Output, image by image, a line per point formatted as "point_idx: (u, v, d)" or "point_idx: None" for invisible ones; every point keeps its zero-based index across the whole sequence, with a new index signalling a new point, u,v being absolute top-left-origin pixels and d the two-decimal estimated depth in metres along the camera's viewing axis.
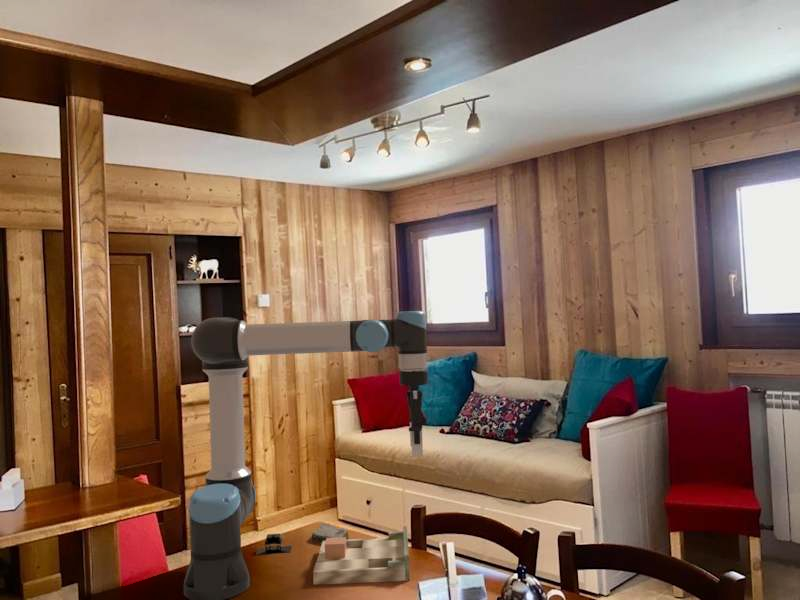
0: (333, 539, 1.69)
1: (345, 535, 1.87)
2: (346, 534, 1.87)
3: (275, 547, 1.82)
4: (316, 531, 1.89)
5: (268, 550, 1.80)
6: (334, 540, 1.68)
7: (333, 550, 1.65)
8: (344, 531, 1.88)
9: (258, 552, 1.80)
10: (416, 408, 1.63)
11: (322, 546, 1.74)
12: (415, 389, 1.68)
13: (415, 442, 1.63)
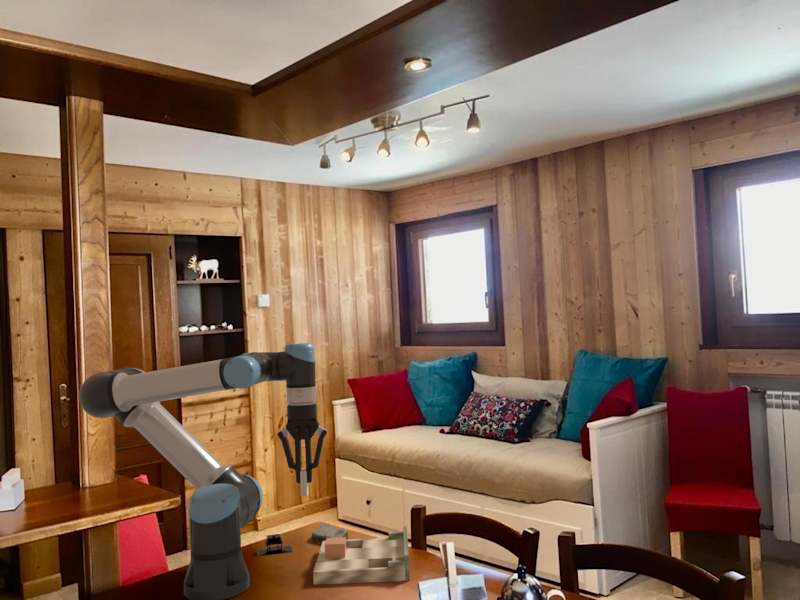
0: (333, 539, 1.69)
1: (345, 535, 1.86)
2: (346, 534, 1.87)
3: (275, 547, 1.81)
4: (316, 531, 1.89)
5: (269, 551, 1.79)
6: (334, 540, 1.68)
7: (333, 550, 1.65)
8: (344, 531, 1.88)
9: (259, 554, 1.78)
10: None
11: (322, 546, 1.74)
12: None
13: None
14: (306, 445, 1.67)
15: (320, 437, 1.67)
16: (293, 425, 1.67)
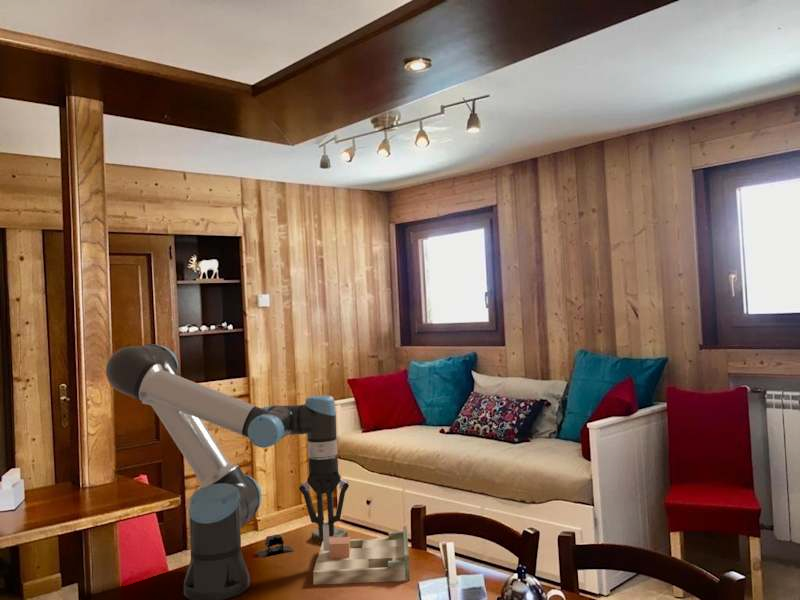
0: (337, 539, 1.69)
1: (344, 535, 1.86)
2: (345, 534, 1.87)
3: (275, 548, 1.81)
4: (316, 531, 1.89)
5: (271, 552, 1.78)
6: (339, 539, 1.68)
7: (337, 549, 1.65)
8: (343, 531, 1.88)
9: (261, 555, 1.77)
10: None
11: (322, 546, 1.74)
12: None
13: None
14: (328, 499, 1.67)
15: (342, 491, 1.67)
16: (315, 479, 1.67)
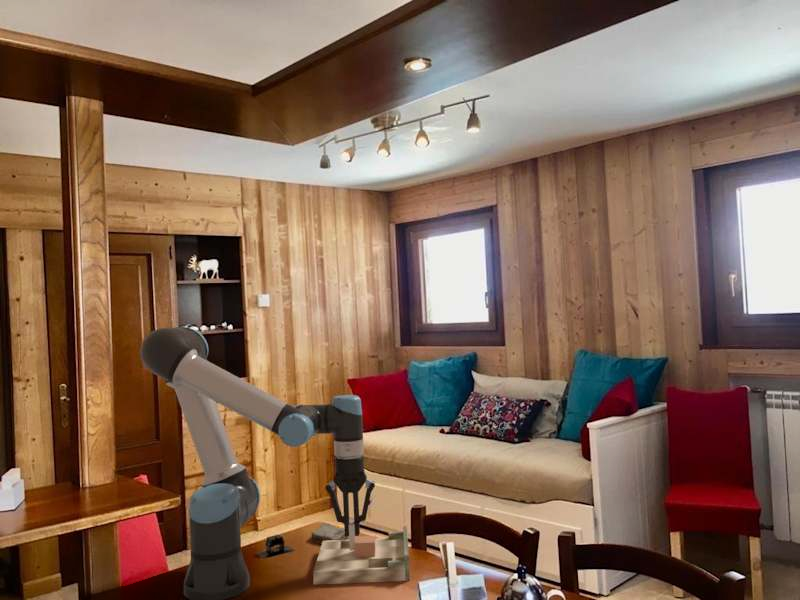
0: (362, 538, 1.69)
1: (344, 535, 1.86)
2: None
3: (275, 548, 1.80)
4: (316, 531, 1.89)
5: (272, 552, 1.78)
6: (364, 538, 1.68)
7: (363, 549, 1.65)
8: (343, 531, 1.88)
9: (263, 556, 1.76)
10: None
11: (322, 546, 1.74)
12: None
13: None
14: (354, 498, 1.67)
15: (368, 490, 1.67)
16: (341, 478, 1.67)
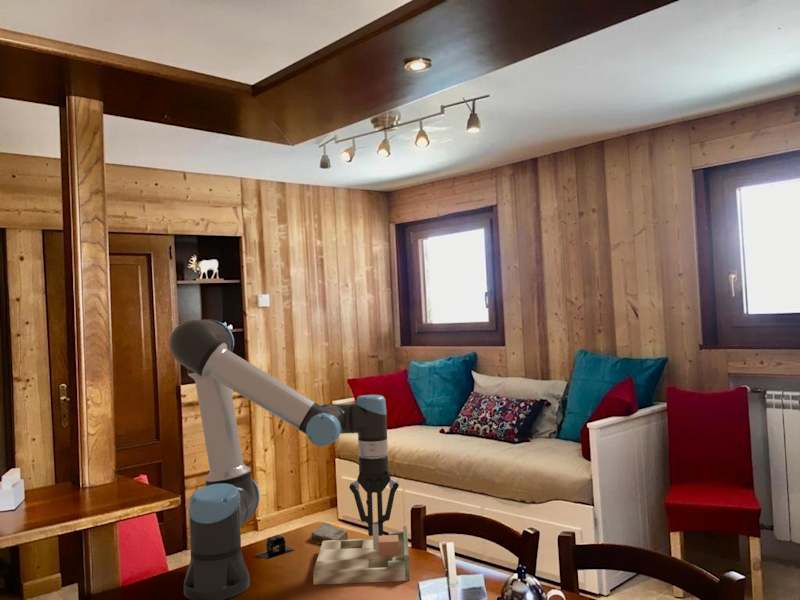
0: (386, 537, 1.69)
1: (344, 536, 1.86)
2: (345, 535, 1.87)
3: (276, 549, 1.80)
4: (316, 531, 1.89)
5: (274, 552, 1.78)
6: (387, 537, 1.68)
7: (387, 548, 1.65)
8: (343, 532, 1.88)
9: (265, 557, 1.76)
10: None
11: (322, 546, 1.74)
12: None
13: None
14: (378, 498, 1.67)
15: (392, 490, 1.67)
16: (365, 478, 1.67)
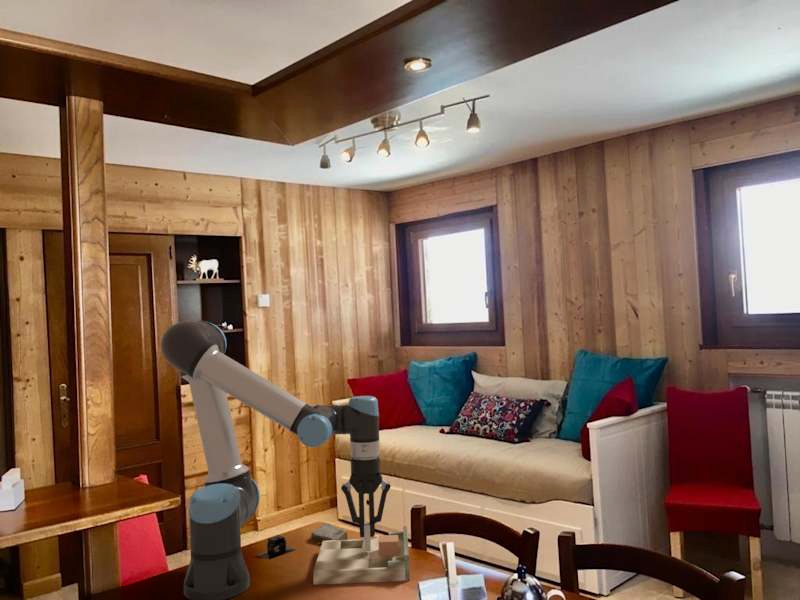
0: (386, 537, 1.69)
1: (343, 536, 1.86)
2: (345, 535, 1.87)
3: (276, 549, 1.80)
4: (316, 531, 1.89)
5: (276, 553, 1.77)
6: (387, 537, 1.68)
7: (387, 548, 1.65)
8: (343, 532, 1.87)
9: (267, 557, 1.76)
10: None
11: (322, 546, 1.74)
12: None
13: None
14: (370, 499, 1.67)
15: (384, 491, 1.67)
16: (357, 479, 1.67)
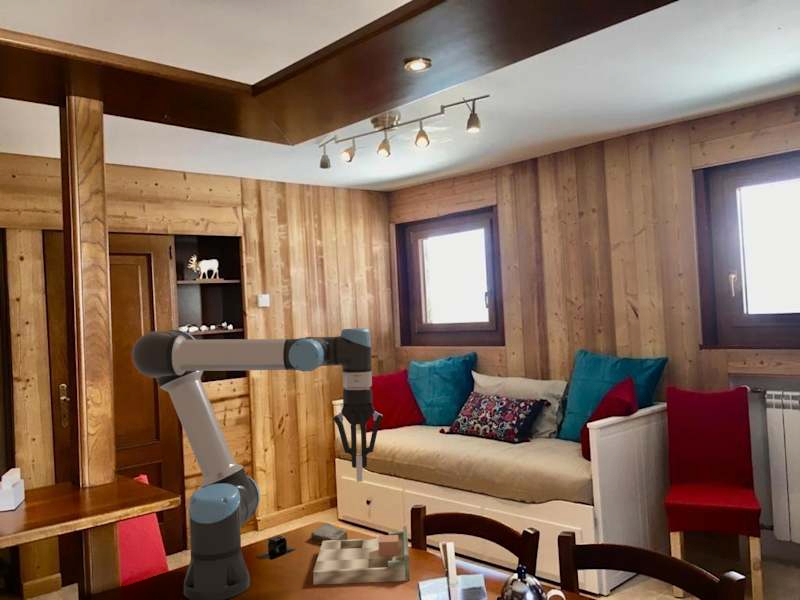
0: (386, 537, 1.69)
1: (343, 536, 1.86)
2: (344, 535, 1.87)
3: (277, 549, 1.80)
4: (315, 531, 1.89)
5: (277, 553, 1.77)
6: (387, 537, 1.68)
7: (387, 548, 1.65)
8: (343, 532, 1.87)
9: (269, 557, 1.75)
10: None
11: (322, 546, 1.74)
12: None
13: None
14: (362, 430, 1.67)
15: (376, 422, 1.67)
16: (349, 410, 1.68)
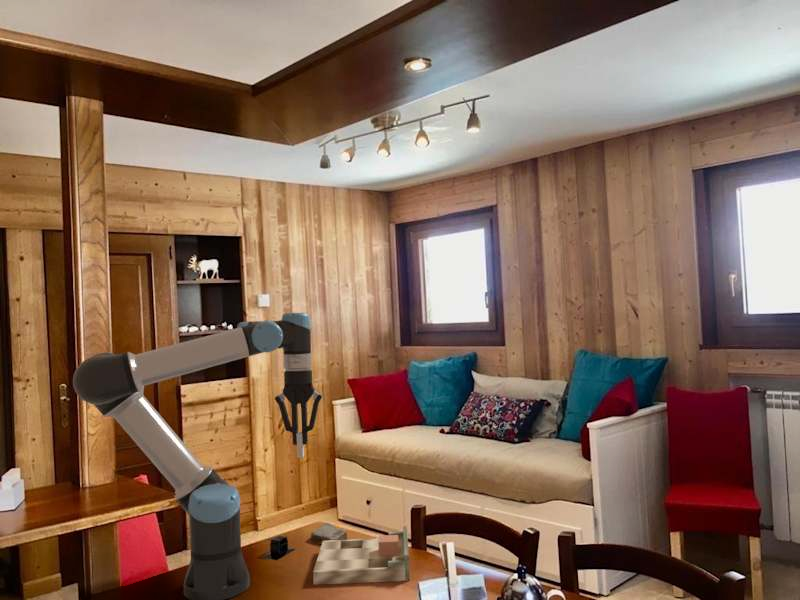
0: (386, 537, 1.69)
1: (343, 536, 1.86)
2: (344, 535, 1.87)
3: (278, 549, 1.79)
4: (315, 530, 1.89)
5: (280, 553, 1.77)
6: (387, 537, 1.68)
7: (387, 548, 1.65)
8: (342, 532, 1.87)
9: (274, 558, 1.75)
10: None
11: (322, 546, 1.74)
12: None
13: None
14: (302, 409, 1.76)
15: (315, 401, 1.76)
16: (290, 390, 1.76)
